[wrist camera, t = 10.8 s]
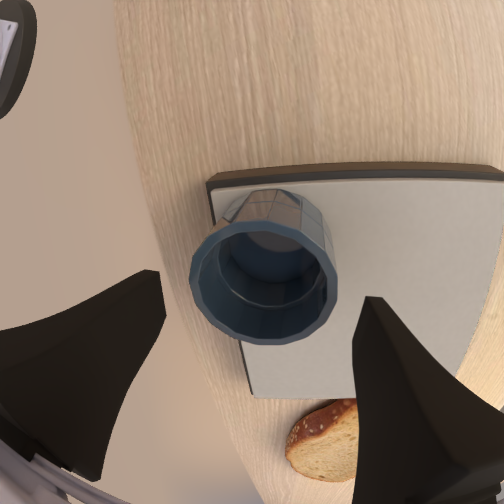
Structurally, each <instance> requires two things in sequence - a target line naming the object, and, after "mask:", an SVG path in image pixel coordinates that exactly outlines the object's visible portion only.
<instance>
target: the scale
mask: <svg viewBox="0 0 504 504" xmlns="http://www.w3.org/2000/svg"><path fill="white" fill-rule="evenodd" d="M206 188H207V194H208V199H209V204H210V209H211V215H212V220H213V225H214V226H215V225H216V223H217V222H218V221H219V219H220V218H221V217H222V215H223V214H224V213H225V211H226V210H227V209H228V207H229V206H230V205H231V203H232V202H234V201H235V200H237V199H238V198H240V197H242V196H244V195H246V194H248V193H250V192H252V191H255V190H263V189H275V188H277V189H282V190H286V191H289V192H292V193H295V194H298V195H301V196H303V197H304V198H306V199H307V200H308V201H309V202H310V203H312V204H313V205H314V206H315V207H316V208H318V209H319V210H320V212H321V213H322V215H323V217H324V219H325V221H326V223H327V225H328V227H329V229H330V231H331V235H332V241H333V247H334V254H335V260H336V267H337V274H338V300H337V303H336V305H335V307H334V309H333V311H332V313H331V315H330V316H329V318H328V320H327V322H326V323H325V324H324V325H323V326H321V327H320V328H319V329H318V330H316V331H315V332H314V333H312V334H311V335H310V336H309V337H306V338H305V339H302V340H299V341H295V342H292V343H289V344H286V345H254V344H251V343H247V342H244V341H241V340H238V341H239V346H240V350H241V354H242V358H243V363H244V367H245V371H246V375H247V379H248V383H249V387H250V391H251V394H252V395H254V398H263V399H342V398H356V392H355V384H354V376H353V368H352V338H353V335H354V332H355V329H356V326H357V323H358V319H359V316H360V313H361V309H362V306H363V303H364V299H365V296H375V297H383V299H384V300H385V301H386V302H387V303H388V304H389V305H390V307H391V308H392V309H393V310H394V312H395V313H396V314H397V315H398V316H399V318H400V319H401V320H402V321H403V323H404V324H405V325H406V326H407V327H408V329H409V330H410V331H411V332H412V333H413V335H414V336H415V337H416V338H417V339H418V340H419V342H420V343H421V344H422V345H423V346H424V347H425V348H426V349H427V350H428V352H429V353H430V354H431V355H432V356H433V357H434V358H435V359H436V360H437V361H438V362H439V363H440V364H441V365H442V366H443V367H444V368H445V369H446V370H447V371H448V372H449V373H450V374H452V375H453V376H454V377H455V376H456V373H457V371H458V369H459V367H460V365H461V363H462V361H463V358H464V356H465V354H466V351H467V349H468V347H469V344H470V342H471V339H472V337H473V334H474V332H475V329H476V327H477V324H478V321H479V318H480V315H481V313H482V310H483V307H484V304H485V301H486V297H487V294H488V291H489V287H490V284H491V280H492V277H493V273H494V269H495V265H496V261H497V257H498V253H499V248H500V243H501V238H502V233H503V227H504V172H503V171H501V170H498V169H496V168H494V167H492V166H488V165H475V164H459V163H438V162H347V163H324V164H307V165H292V166H279V167H268V168H257V169H247V170H238V171H229V172H221V173H217V174H215V175H214V176H213V177H212V178H210V179H209V180H208V181H207V182H206Z"/></svg>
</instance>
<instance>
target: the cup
mask: <svg viewBox="0 0 504 504" xmlns="http://www.w3.org/2000/svg"><path fill="white" fill-rule="evenodd" d="M189 284H190V288H191V291H192V294H193V298H194V301H195V304H196V306H197V307H198V308H199V309H200V311H201V312H202V313H203V315H204V316H205V317H206V318H207V320H208V321H209V322H210V323H211V324H212V325H213V326H215V327H216V328H218V329H219V330H221V331H222V332H224V333H225V334H227V335H228V336H230V337H232V338H234V339H237V340H241V341H244V342H247V343H251V344H254V345H286V344H289V343H292V342H295V341H299V340H302V339H305V338H306V337H309V336H310V335H311V334H312V333H314V332H315V331H316V330H318V329H319V328H320V327H321V326H323V325H324V324H325V323H326V322H327V320H328V318H329V316H330V315H331V313H332V311H333V309H334V307H335V305H336V303H337V300H338V274H337V267H336V260H335V254H334V247H333V241H332V235H331V231H330V229H329V227H328V225H327V223H326V221H325V219H324V217H323V215H322V213H321V212H320V210H319V209H318V208H316V207H315V206H314V205H313V204H312V203H310V202H309V201H308V200H307V199H306V198H304V197H303V196H301V195H298V194H295V193H292V192H289V191H286V190H282V189H277V188H275V189H263V190H255V191H252V192H250V193H248V194H246V195H244V196H242V197H240V198H238V199H237V200H235V201H234V202H232V203H231V205H230V206H229V207H228V209H227V210H226V211H225V213H224V214H223V215H222V217H221V218H220V219H219V221H218V222H217V223H216V225H215V226H214V227H213V229H212V230H211V231H210V233H209V234H208V236H207V237H206V238H205V240H204V241H203V242H202V244H201V245H200V247H199V248H198V249H197V251H196V252H195V253H194V255H193V257H192V262H191V268H190V274H189Z"/></svg>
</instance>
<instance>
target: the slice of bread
mask: <svg viewBox="0 0 504 504" xmlns="http://www.w3.org/2000/svg"><path fill="white" fill-rule="evenodd" d="M358 439H359V422H358V410H357V401H356V398H342V399H338V400H337V401H336V402H334V403H333V404H331V405H329V406H327V407H325V408H322V409H319V410H317V411H314V412H312V413H310V414H309V415H307V416H305V417H303V418H302V419H301V420H300V421H299V422H297V424H296V425H295V427H294V428H293V429H292V431H291V433H290V434H289V437H288V438H287V441H286V447H285V456H286V459H287V460H289V461H290V462H291V467H292V468H293V469H294V470H295V471H296V472H298V473H300V474H302V475H304V476H306V477H309V478H311V479H316V480H320V481H326V482H344V481H347V480H349V479H351V478H352V479H353V478H354V477H356V469H357V457H358Z"/></svg>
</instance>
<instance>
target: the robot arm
mask: <svg viewBox="0 0 504 504" xmlns="http://www.w3.org/2000/svg"><path fill="white" fill-rule="evenodd" d="M17 29H18V23H17V22H12V21H6V20H1V19H0V79H1V76H2V72H3V69H4V66H5V62H6V59H7V56H8V53H9V50H10V47H11V45H12V42H13V39H14V36H15V34H16V31H17ZM166 316H167V315H166V310H165V304H164V298H163V292H162V286H161V281H160V273H159V272H158V271H152V270H143V271H140V272H138V273H136V274H134V275H132V276H130V277H128V278H126V279H125V280H123V281H121V282H119V283H117V284H115V285H114V286H112V287H110V288H108V289H106V290H104V291H103V292H101V293H99V294H97V295H95V296H93V297H91V298H89V299H87V300H85V301H83V302H81V303H80V304H78V305H76V306H73V307H71V308H69V309H67V310H65V311H63V312H60V313H57V314H55V315H52V316H50V317H47V318H44V319H41V320H38V321H35V322H32V323H29V324H26V325H22V326H19V327H15V328H10V329H6V330H1V331H0V504H71V503H70V502H69V501H68V498H67V495H66V493H67V494H69V495H71V496H72V497H74V498H76V499H77V500H79V501H81V502H83V503H85V504H130V503H128V502H125V501H123V500H121V499H118V498H116V497H114V496H112V495H109V494H107V493H105V492H103V491H101V490H99V489H97V488H95V487H93V486H91V485H89V484H87V483H85V482H83V481H81V480H80V479H78V478H76V477H74V476H72V475H71V474H69V473H67V472H65V471H64V470H62V469H61V468H64V469H66V470H68V471H69V472H74V473H76V474H77V475H79V476H81V477H83V478H85V479H87V480H89V481H91V482H95V481H98V480H100V479H101V474H102V469H103V464H104V459H105V455H106V451H107V447H108V444H109V440H110V437H111V433H112V430H113V427H114V424H115V422H116V419H117V416H118V413H119V410H120V408H121V405H122V403H123V401H124V398H125V396H126V393H127V391H128V389H129V387H130V385H131V383H132V381H133V379H134V378H135V376H136V374H137V373H138V371H139V369H140V367H141V366H142V364H143V362H144V361H145V359H146V357H147V355H148V354H149V352H150V350H151V348H152V347H153V345H154V343H155V342H156V340H157V338H158V336H159V333H160V331H161V329H162V326H163V324H164V320H165V318H166ZM352 368H353V376H354V384H355V392H356V401H357V410H358V422H359V439H358V457H357V469H356V478H355V486H354V493H353V499H352V504H504V499H502V500H500V501H498V502H497V501H496V495H497V494H499V493H500V492H501V485H500V482H501V481H503V480H504V414H503V413H502V412H500V411H499V410H497V409H496V408H494V407H493V406H491V405H490V404H488V403H486V402H485V401H484V400H482V399H481V398H480V397H478V396H477V395H475V394H474V393H473V392H472V391H470V390H469V389H468V388H467V387H465V386H464V385H463V384H462V383H461V382H459V381H458V380H457V379H456V378H455V377H454V376H453V375H452V374H450V373H449V372H448V371H447V370H446V369H445V368H444V367H443V366H442V365H441V364H440V363H439V362H438V361H437V360H436V359H435V358H434V357H433V356H432V355H431V354H430V353H429V352H428V350H427V349H426V348H425V347H424V346H423V345H422V344H421V343H420V342H419V340H418V339H417V338H416V337H415V336H414V335H413V333H412V332H411V331H410V330H409V329H408V327H407V326H406V325H405V324H404V323H403V321H402V320H401V319H400V318H399V316H398V315H397V314H396V313H395V312H394V310H393V309H392V308H391V307H390V305H389V304H388V303H387V302H386V301H385V300H384V299H383V297H375V296H365V299H364V303H363V306H362V309H361V313H360V316H359V319H358V323H357V326H356V329H355V332H354V335H353V338H352Z"/></svg>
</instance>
